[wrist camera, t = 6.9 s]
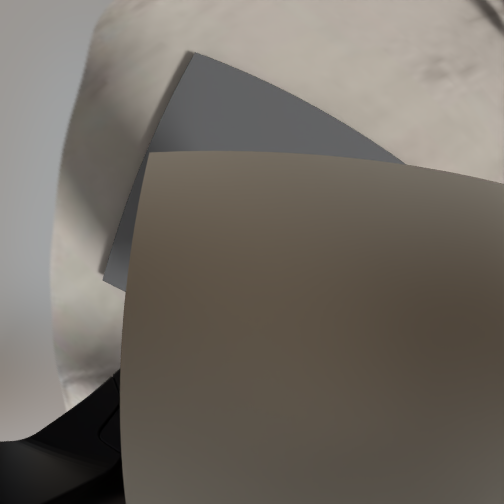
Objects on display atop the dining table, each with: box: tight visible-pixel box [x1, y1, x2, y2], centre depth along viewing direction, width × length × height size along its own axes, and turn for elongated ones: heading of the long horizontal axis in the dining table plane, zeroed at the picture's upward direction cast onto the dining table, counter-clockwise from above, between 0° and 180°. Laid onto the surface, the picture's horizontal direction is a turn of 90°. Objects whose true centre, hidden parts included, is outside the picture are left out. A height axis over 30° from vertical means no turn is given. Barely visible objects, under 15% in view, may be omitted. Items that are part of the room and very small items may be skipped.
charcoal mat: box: [103, 52, 406, 292], centre depth 19 cm, size 16×16×1 cm
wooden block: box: [120, 151, 504, 504], centre depth 8 cm, size 5×5×12 cm
